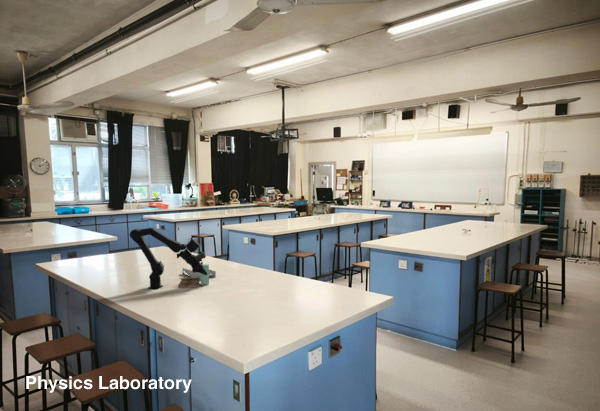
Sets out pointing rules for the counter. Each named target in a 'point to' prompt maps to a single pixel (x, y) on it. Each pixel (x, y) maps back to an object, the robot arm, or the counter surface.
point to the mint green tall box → (205, 277)
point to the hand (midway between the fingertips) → (207, 273)
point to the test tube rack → (192, 274)
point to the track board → (189, 282)
